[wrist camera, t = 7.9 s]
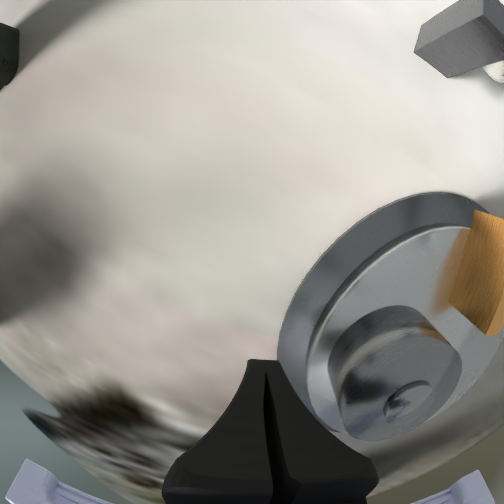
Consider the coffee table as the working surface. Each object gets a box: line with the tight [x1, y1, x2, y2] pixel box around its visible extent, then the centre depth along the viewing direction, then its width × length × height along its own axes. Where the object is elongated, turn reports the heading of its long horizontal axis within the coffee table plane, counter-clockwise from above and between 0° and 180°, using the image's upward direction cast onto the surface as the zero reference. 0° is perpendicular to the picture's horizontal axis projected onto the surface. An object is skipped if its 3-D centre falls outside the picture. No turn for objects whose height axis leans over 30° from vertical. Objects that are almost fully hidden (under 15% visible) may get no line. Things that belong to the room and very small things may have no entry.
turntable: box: [305, 209, 504, 435], centre depth 12 cm, size 16×15×5 cm
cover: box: [327, 305, 462, 441], centre depth 11 cm, size 6×6×4 cm
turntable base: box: [277, 192, 489, 433], centre depth 15 cm, size 18×18×1 cm
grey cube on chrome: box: [414, 0, 504, 83], centre depth 7 cm, size 3×4×6 cm
